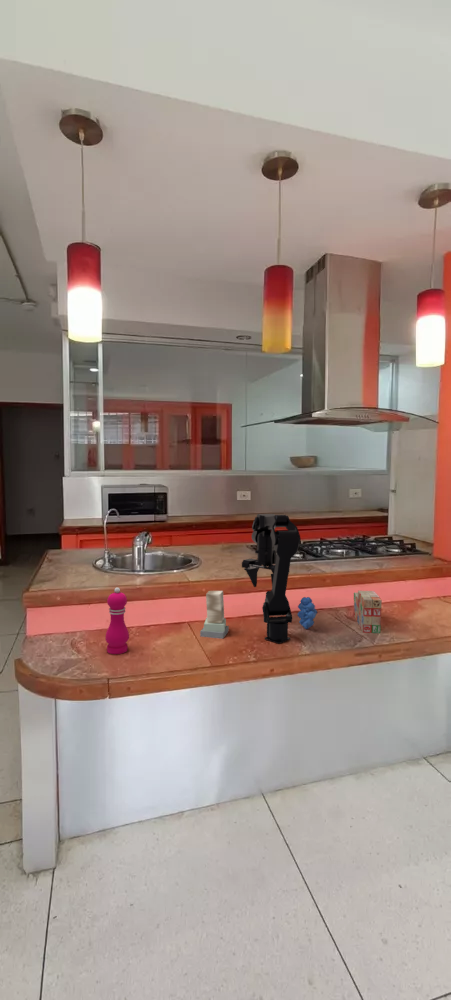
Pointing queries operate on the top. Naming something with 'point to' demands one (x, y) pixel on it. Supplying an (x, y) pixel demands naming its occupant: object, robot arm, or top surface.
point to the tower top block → (215, 626)
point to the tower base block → (214, 633)
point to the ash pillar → (215, 607)
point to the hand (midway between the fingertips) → (264, 589)
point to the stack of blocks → (368, 611)
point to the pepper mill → (117, 624)
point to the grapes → (306, 612)
